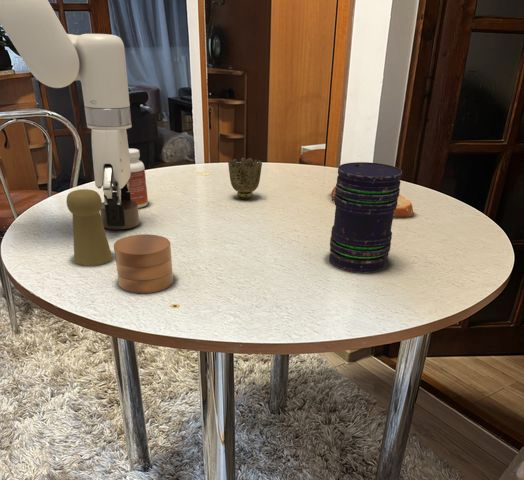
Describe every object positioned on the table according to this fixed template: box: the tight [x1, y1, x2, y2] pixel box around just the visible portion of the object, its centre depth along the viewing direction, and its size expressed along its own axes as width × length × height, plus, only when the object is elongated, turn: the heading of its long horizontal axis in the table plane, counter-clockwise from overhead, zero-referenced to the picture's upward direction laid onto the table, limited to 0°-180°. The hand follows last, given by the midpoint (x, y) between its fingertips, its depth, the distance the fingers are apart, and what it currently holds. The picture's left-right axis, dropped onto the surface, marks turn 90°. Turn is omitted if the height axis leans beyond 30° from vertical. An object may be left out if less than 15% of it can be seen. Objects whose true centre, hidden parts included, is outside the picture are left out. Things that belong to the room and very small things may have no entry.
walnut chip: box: [100, 200, 140, 230], centre depth 97 cm, size 7×7×4 cm
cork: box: [65, 188, 113, 267], centre depth 81 cm, size 6×6×11 cm
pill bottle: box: [128, 148, 149, 209], centre depth 106 cm, size 6×6×11 cm
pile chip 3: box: [116, 269, 174, 294], centre depth 76 cm, size 8×8×2 cm
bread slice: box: [331, 185, 415, 219], centre depth 113 cm, size 18×18×4 cm
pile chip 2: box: [115, 257, 173, 280], centre depth 75 cm, size 8×8×2 cm
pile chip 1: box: [113, 233, 172, 267], centre depth 74 cm, size 8×8×2 cm
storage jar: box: [328, 161, 403, 274], centre depth 82 cm, size 10×10×15 cm
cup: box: [227, 157, 263, 201], centre depth 114 cm, size 8×7×8 cm
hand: (120, 218), depth 98 cm, fingers closed on walnut chip, 7 cm apart
